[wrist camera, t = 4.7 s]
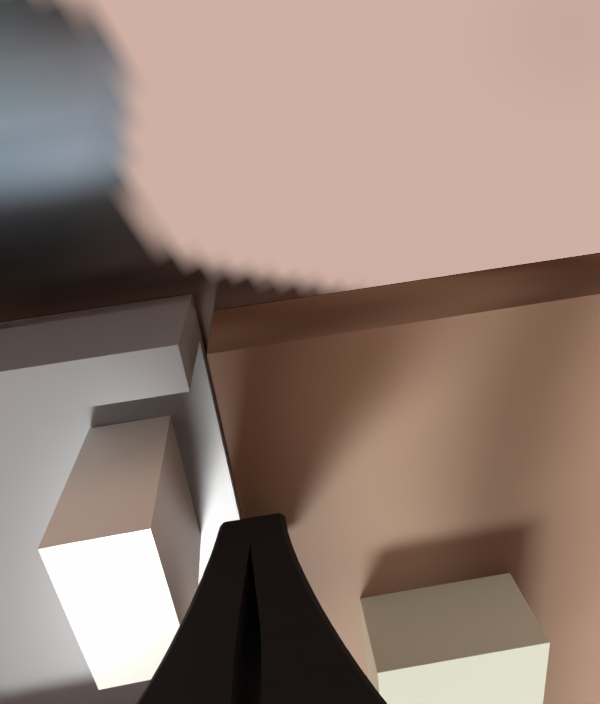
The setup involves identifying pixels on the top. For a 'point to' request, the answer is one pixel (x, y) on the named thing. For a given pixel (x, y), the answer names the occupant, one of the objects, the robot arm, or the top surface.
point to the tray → (61, 453)
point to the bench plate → (430, 442)
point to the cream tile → (125, 548)
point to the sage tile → (456, 644)
